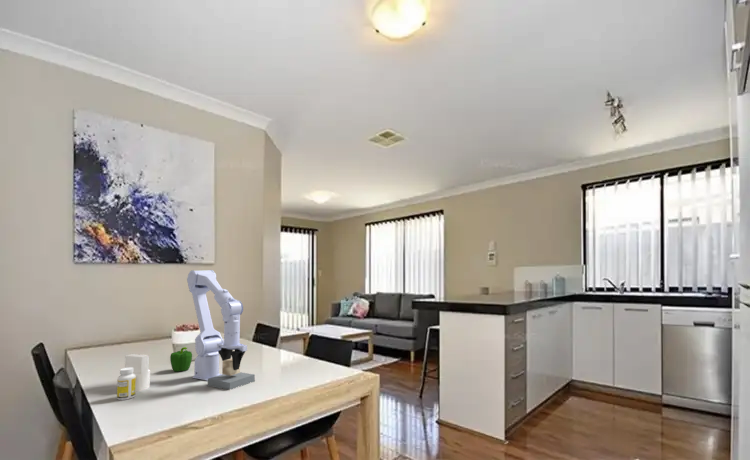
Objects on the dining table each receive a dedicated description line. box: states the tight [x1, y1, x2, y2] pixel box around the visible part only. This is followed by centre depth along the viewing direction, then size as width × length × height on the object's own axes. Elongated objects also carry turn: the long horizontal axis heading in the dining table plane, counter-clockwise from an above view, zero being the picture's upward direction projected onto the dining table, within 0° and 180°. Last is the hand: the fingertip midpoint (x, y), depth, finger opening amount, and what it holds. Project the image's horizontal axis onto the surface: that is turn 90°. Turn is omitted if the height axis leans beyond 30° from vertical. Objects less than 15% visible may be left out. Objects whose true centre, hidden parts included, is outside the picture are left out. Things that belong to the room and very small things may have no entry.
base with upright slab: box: [124, 353, 151, 393], centre depth 150 cm, size 9×9×12 cm
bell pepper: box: [169, 346, 193, 372], centre depth 174 cm, size 8×8×10 cm
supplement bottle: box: [116, 367, 136, 401], centre depth 139 cm, size 5×5×10 cm
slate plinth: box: [207, 371, 256, 390], centre depth 153 cm, size 12×12×2 cm
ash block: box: [221, 357, 241, 376], centre depth 153 cm, size 4×4×5 cm
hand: (231, 368), depth 153 cm, fingers closed on ash block, 4 cm apart
